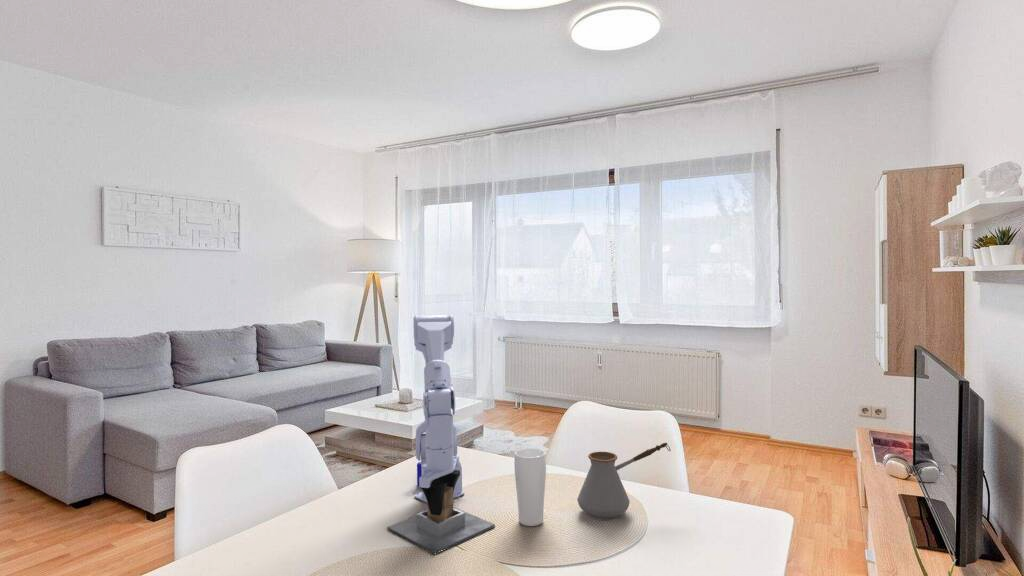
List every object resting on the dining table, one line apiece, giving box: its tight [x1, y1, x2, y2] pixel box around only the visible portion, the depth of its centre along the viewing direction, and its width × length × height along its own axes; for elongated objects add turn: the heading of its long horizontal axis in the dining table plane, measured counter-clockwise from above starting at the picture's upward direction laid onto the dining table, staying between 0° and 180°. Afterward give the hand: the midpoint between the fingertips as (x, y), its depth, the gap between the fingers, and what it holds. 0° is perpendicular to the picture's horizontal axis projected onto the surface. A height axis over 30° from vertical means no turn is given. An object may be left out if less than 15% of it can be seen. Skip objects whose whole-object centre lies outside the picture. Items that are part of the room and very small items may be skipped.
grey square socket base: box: [386, 506, 496, 555], centre depth 117 cm, size 16×16×3 cm
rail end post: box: [426, 486, 454, 522], centre depth 117 cm, size 4×4×6 cm
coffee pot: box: [576, 442, 671, 521], centre depth 124 cm, size 21×12×15 cm, turn 98°
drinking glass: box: [514, 447, 547, 527], centre depth 119 cm, size 7×7×15 cm
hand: (440, 509), depth 117 cm, fingers closed on rail end post, 4 cm apart
